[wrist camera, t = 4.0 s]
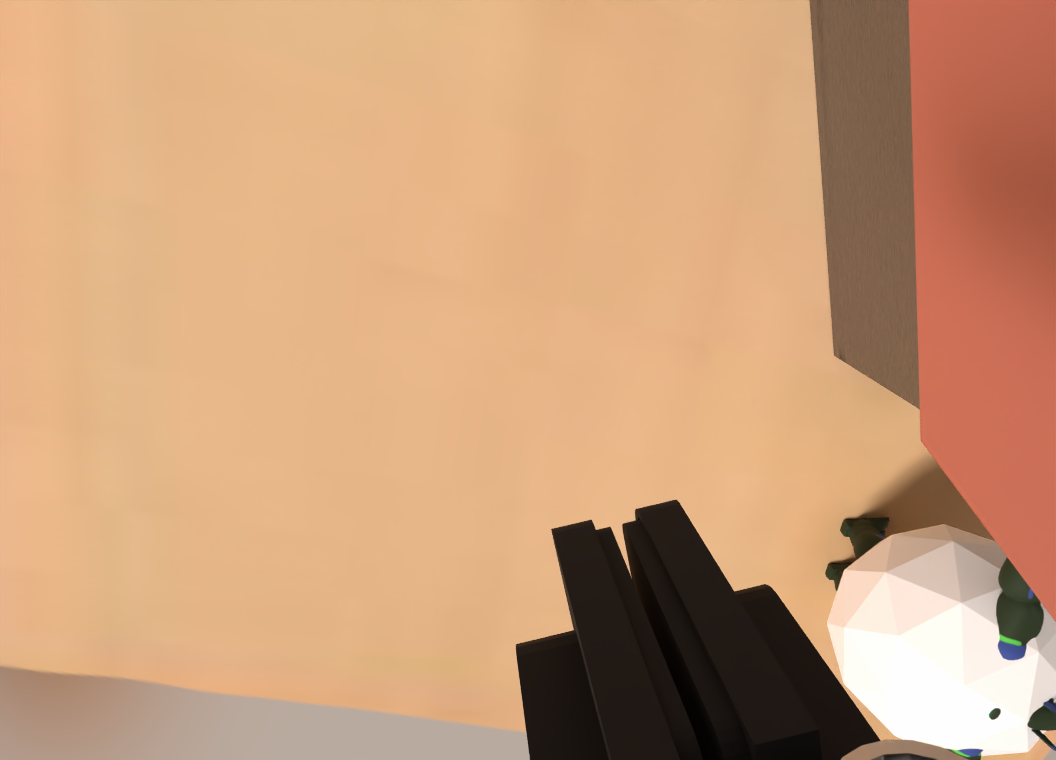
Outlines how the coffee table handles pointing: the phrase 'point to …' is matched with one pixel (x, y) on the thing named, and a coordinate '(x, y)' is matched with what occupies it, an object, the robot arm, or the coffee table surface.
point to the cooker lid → (989, 264)
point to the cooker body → (869, 186)
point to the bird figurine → (944, 639)
